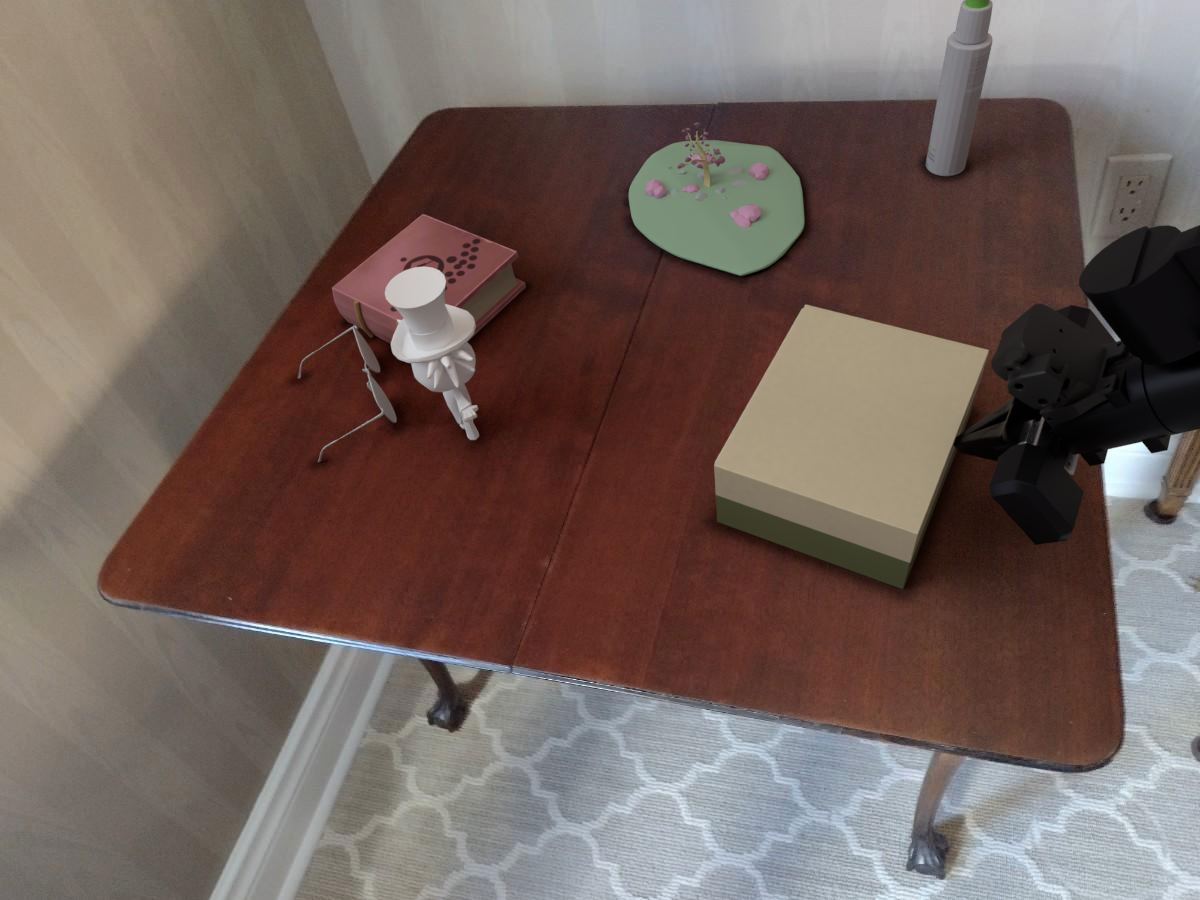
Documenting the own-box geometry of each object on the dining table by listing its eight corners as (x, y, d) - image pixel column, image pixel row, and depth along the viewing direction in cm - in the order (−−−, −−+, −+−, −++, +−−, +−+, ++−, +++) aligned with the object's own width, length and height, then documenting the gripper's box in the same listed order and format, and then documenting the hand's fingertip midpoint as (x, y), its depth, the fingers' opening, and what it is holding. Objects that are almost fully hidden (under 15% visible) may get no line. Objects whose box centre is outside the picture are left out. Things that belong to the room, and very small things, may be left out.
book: (342, 326, 99) (325, 292, 95) (434, 248, 105) (423, 213, 102) (433, 373, 92) (419, 338, 88) (525, 287, 99) (516, 251, 95)
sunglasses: (402, 435, 87) (378, 405, 83) (326, 474, 87) (299, 446, 83) (373, 347, 96) (350, 316, 92) (304, 382, 96) (278, 353, 92)
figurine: (524, 446, 84) (480, 304, 70) (450, 480, 83) (390, 342, 69) (484, 378, 91) (437, 236, 77) (415, 409, 89) (354, 270, 75)
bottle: (938, 150, 105) (971, -25, 89) (972, 162, 102) (1012, -16, 87) (917, 168, 103) (947, -7, 88) (952, 181, 101) (989, 3, 85)
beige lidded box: (971, 412, 80) (989, 349, 74) (903, 590, 70) (918, 534, 64) (799, 365, 86) (803, 303, 80) (715, 521, 76) (712, 464, 70)
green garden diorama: (863, 226, 98) (872, 154, 91) (703, 299, 94) (699, 230, 87) (739, 127, 113) (738, 59, 106) (596, 187, 109) (586, 121, 102)
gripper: (1125, 213, 59) (930, 297, 72) (1065, 408, 50) (853, 465, 63) (1210, 328, 62) (1009, 390, 75) (1169, 532, 53) (947, 563, 66)
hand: (957, 445), depth 70 cm, fingers closed, pressing on beige lidded box
